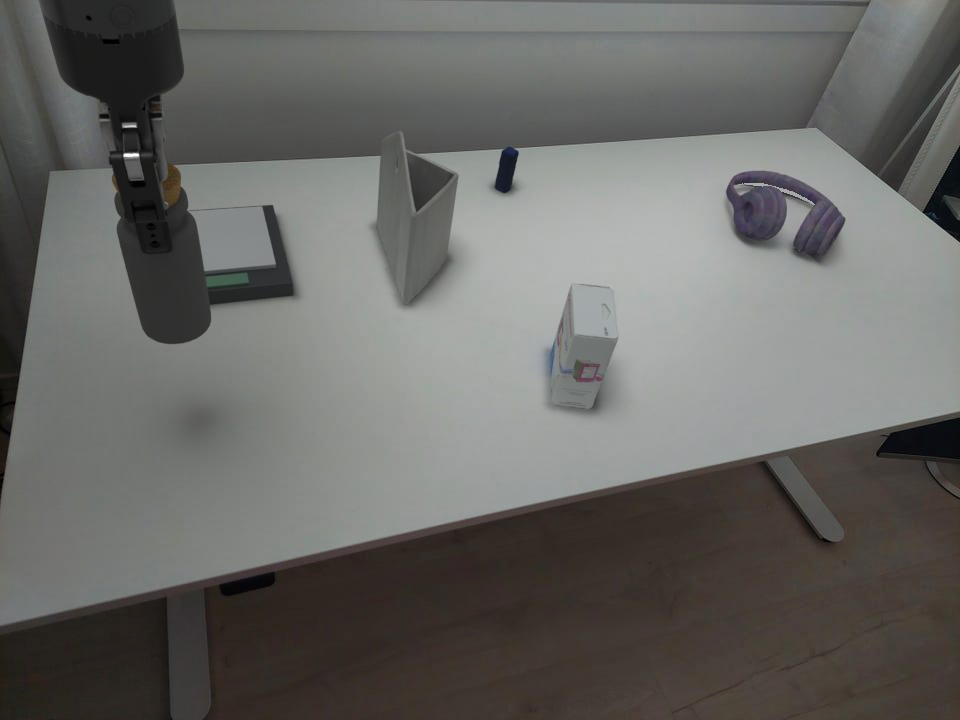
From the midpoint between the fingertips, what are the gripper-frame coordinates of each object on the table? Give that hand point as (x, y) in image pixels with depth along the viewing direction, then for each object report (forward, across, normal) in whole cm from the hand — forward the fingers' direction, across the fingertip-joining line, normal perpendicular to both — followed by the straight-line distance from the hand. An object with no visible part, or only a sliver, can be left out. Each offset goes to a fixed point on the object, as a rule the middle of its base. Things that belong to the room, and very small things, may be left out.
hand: (156, 224), depth 56 cm
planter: (+25, -21, +29) cm, 44 cm away
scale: (+25, -25, +4) cm, 35 cm away
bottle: (+11, 0, 0) cm, 11 cm away
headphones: (+25, -23, +90) cm, 96 cm away
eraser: (+25, -37, +47) cm, 64 cm away
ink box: (+25, +2, +42) cm, 48 cm away
